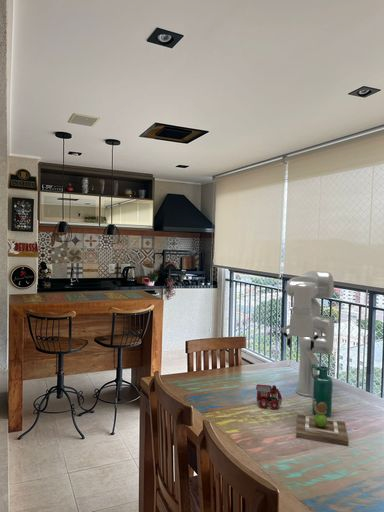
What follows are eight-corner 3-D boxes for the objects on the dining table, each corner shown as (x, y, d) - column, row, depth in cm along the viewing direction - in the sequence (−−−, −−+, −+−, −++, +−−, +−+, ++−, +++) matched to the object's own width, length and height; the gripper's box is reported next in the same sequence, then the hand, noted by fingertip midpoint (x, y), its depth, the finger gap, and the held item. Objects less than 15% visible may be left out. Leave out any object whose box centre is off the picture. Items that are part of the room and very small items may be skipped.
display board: (297, 418, 176) (297, 412, 175) (344, 426, 170) (344, 419, 170) (295, 437, 158) (296, 429, 158) (348, 446, 152) (348, 438, 152)
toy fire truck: (282, 410, 184) (283, 388, 184) (256, 408, 185) (257, 386, 185) (280, 404, 191) (281, 383, 191) (255, 402, 192) (256, 381, 192)
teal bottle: (330, 410, 185) (332, 365, 185) (331, 417, 177) (333, 370, 177) (309, 407, 189) (311, 362, 188) (309, 414, 181) (311, 367, 180)
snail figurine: (309, 423, 166) (310, 396, 166) (323, 423, 167) (324, 395, 167) (315, 429, 161) (316, 401, 161) (329, 429, 162) (330, 401, 162)
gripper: (281, 310, 172) (280, 348, 173) (322, 313, 167) (320, 352, 168) (282, 308, 179) (281, 344, 180) (321, 310, 175) (319, 348, 175)
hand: (300, 348), depth 174 cm, fingers open, 9 cm apart
